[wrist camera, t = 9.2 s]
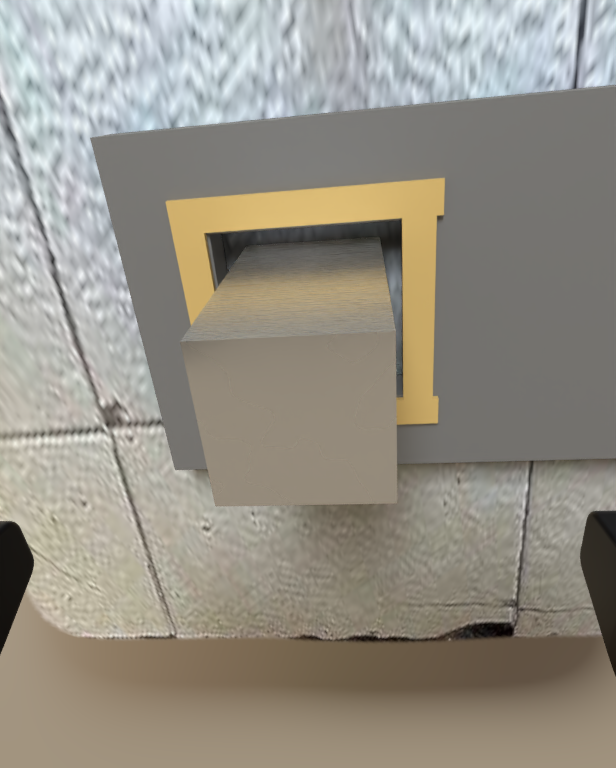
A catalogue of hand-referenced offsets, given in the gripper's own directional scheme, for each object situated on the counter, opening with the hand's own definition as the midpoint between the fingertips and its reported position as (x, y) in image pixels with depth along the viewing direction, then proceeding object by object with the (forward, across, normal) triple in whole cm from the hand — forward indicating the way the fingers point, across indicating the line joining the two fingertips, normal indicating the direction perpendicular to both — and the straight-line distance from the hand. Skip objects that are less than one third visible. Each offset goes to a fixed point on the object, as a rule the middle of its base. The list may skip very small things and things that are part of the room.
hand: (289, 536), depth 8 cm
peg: (+12, 0, 0) cm, 12 cm away
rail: (+12, -7, 0) cm, 14 cm away
